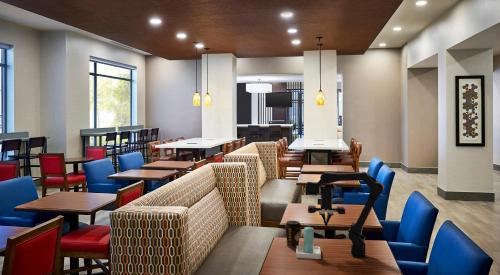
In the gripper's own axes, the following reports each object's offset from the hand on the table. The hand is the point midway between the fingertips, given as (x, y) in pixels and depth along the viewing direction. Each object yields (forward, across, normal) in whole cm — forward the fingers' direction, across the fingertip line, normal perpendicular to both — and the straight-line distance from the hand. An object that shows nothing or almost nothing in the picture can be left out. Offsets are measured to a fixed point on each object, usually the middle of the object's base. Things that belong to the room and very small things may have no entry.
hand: (326, 226), depth 208 cm
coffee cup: (+13, +17, -6) cm, 22 cm away
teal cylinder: (+12, +9, +6) cm, 16 cm away
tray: (+13, +9, +6) cm, 17 cm away
